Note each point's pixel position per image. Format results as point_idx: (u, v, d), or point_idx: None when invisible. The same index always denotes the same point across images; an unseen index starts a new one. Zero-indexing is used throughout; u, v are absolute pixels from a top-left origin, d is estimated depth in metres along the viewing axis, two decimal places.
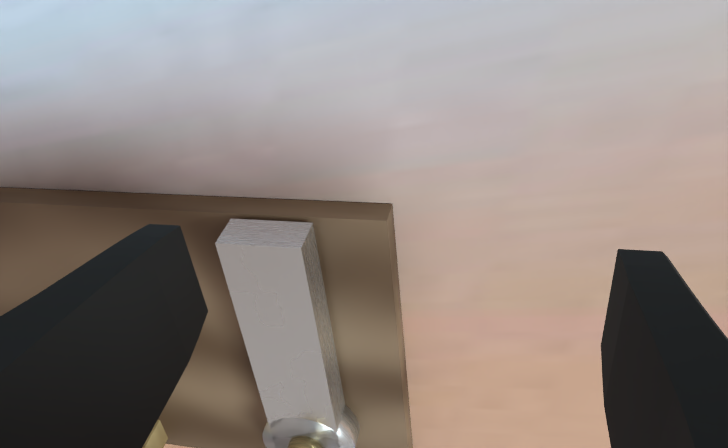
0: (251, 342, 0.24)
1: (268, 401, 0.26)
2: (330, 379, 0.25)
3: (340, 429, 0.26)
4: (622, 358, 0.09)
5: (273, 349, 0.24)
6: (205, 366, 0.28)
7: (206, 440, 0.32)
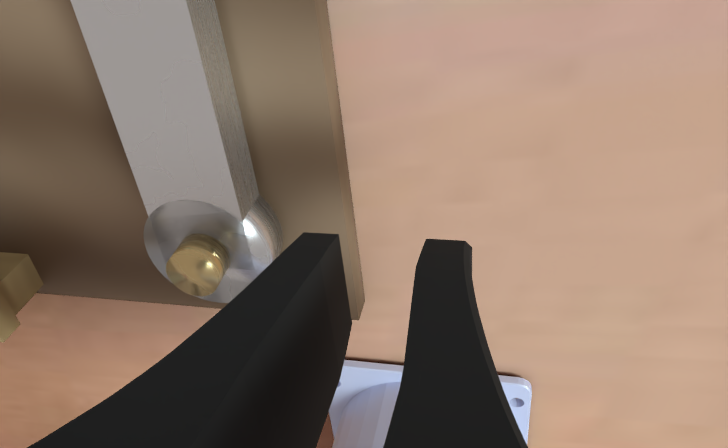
0: (100, 55, 0.16)
1: (141, 172, 0.18)
2: (224, 125, 0.17)
3: (248, 219, 0.18)
4: None
5: (133, 65, 0.16)
6: (68, 151, 0.20)
7: (91, 282, 0.24)
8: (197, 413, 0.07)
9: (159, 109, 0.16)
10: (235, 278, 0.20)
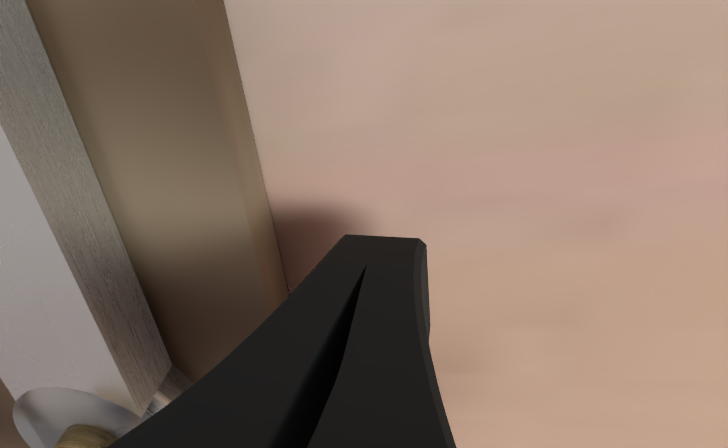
0: None
1: None
2: (102, 300, 0.11)
3: (151, 411, 0.13)
4: None
5: None
6: None
7: None
8: (261, 421, 0.06)
9: (2, 282, 0.11)
10: None
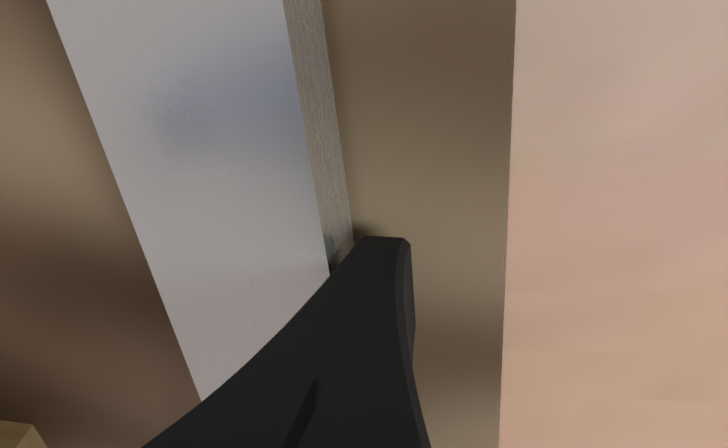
0: (153, 233, 0.10)
1: (207, 381, 0.12)
2: None
3: None
4: None
5: (207, 250, 0.10)
6: (91, 316, 0.14)
7: None
8: (290, 425, 0.06)
9: (245, 310, 0.10)
10: None
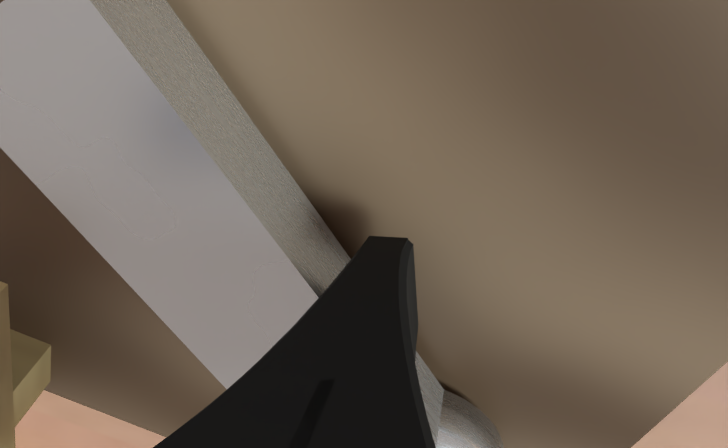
0: (156, 297, 0.11)
1: None
2: None
3: (442, 441, 0.12)
4: None
5: (202, 295, 0.10)
6: None
7: (134, 406, 0.16)
8: (301, 426, 0.06)
9: (260, 340, 0.11)
10: None
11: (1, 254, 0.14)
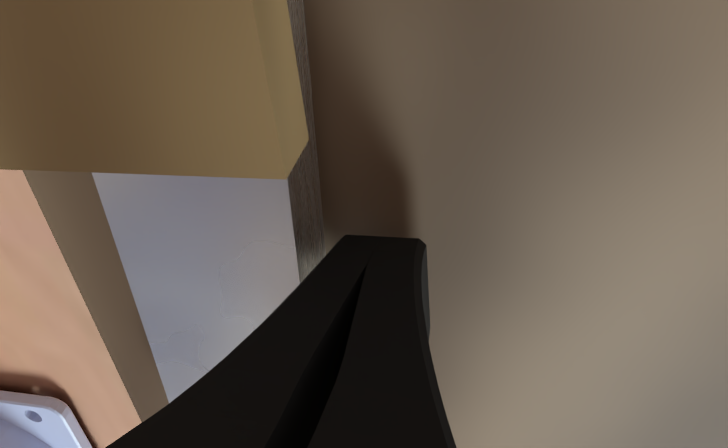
0: (123, 217, 0.10)
1: (170, 367, 0.12)
2: None
3: None
4: None
5: (177, 237, 0.10)
6: None
7: None
8: (260, 421, 0.06)
9: (212, 298, 0.10)
10: None
11: None
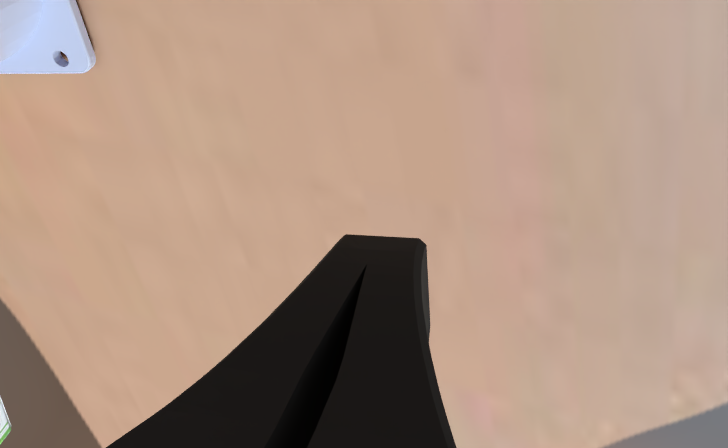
0: None
1: None
2: None
3: None
4: None
5: None
6: None
7: None
8: (260, 422, 0.06)
9: None
10: None
11: None
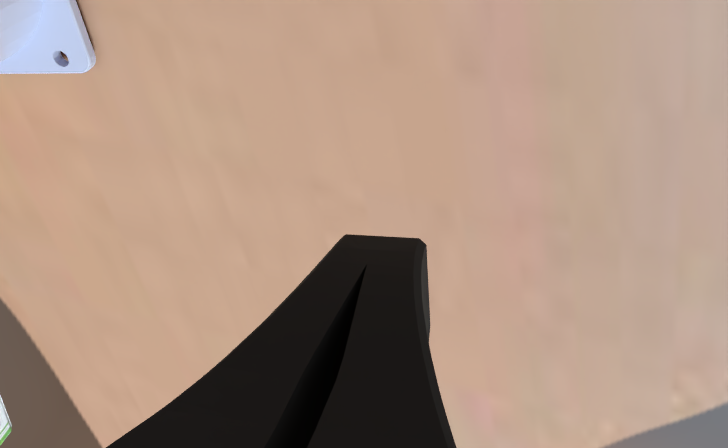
0: None
1: None
2: None
3: None
4: None
5: None
6: None
7: None
8: (261, 421, 0.06)
9: None
10: None
11: None
